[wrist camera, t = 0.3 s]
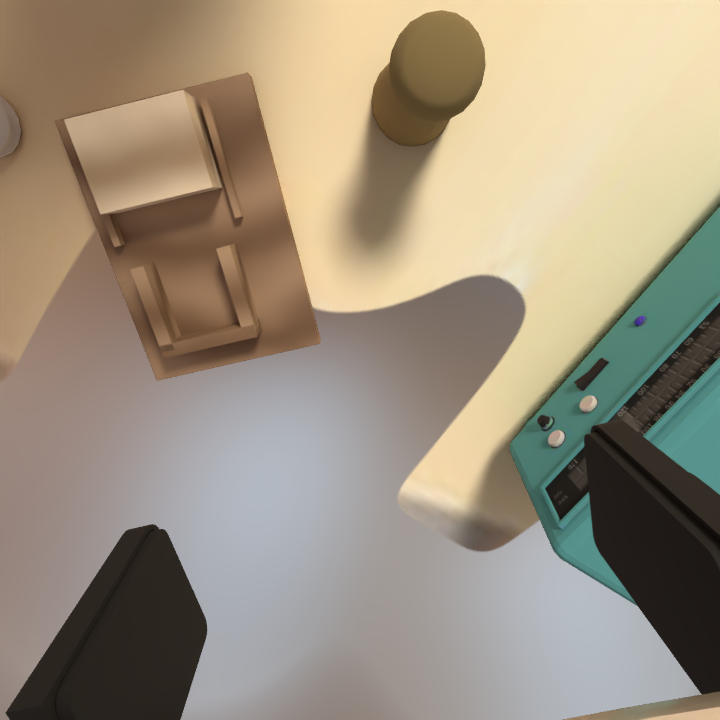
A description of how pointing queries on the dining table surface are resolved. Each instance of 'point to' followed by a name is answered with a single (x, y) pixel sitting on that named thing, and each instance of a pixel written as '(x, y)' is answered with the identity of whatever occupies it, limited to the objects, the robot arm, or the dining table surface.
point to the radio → (633, 399)
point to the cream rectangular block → (144, 152)
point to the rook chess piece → (8, 128)
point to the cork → (428, 78)
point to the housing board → (212, 250)
